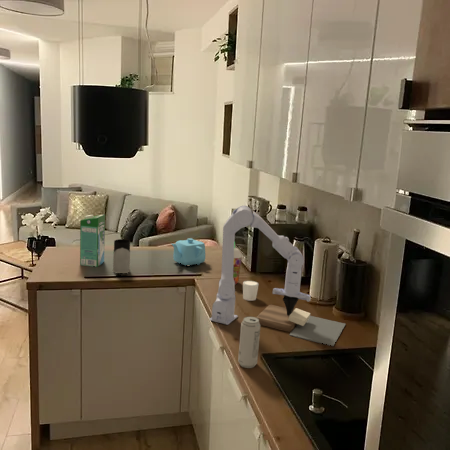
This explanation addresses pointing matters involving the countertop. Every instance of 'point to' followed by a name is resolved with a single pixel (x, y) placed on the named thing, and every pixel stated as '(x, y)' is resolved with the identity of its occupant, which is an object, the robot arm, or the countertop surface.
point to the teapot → (189, 252)
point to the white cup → (250, 290)
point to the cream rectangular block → (299, 317)
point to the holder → (121, 256)
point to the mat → (319, 330)
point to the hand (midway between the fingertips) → (289, 314)
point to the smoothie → (236, 264)
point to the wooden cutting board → (276, 318)
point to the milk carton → (92, 240)
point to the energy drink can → (249, 342)
